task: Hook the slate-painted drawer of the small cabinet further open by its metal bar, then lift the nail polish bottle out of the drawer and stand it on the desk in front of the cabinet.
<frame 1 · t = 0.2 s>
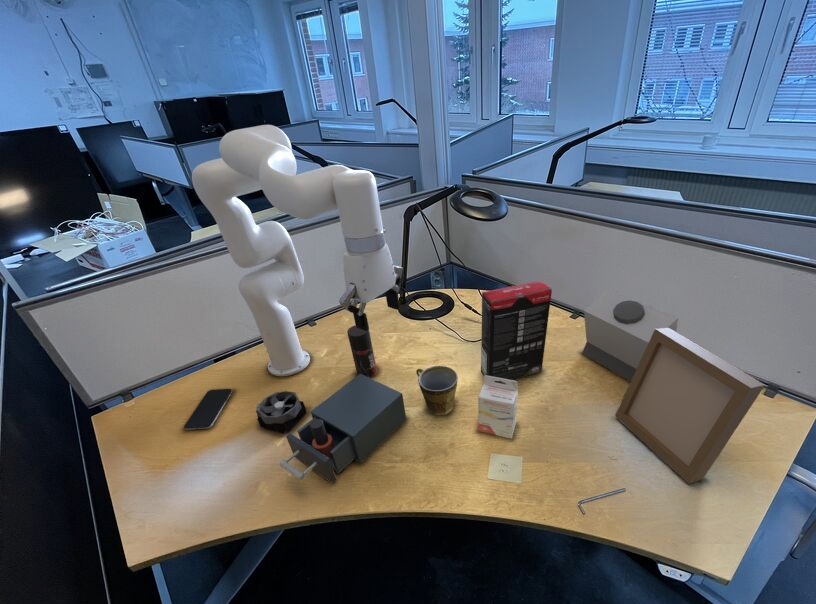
hand: (378, 317, 88), 31 cm above the table, tool pointing down, fingers open, 9 cm apart
deodorant: (367, 372, 123), on the table
graphics card box: (512, 373, 119), on the table
cpu cooler: (284, 419, 109), on the table
ceramic cup: (436, 404, 110), on the table
nail polish bottle: (326, 453, 95), point 2 cm above the table, touching drawer
alarm clock: (622, 363, 120), on the table
smartphone: (210, 409, 113), on the table
cabinet: (363, 428, 104), on the table
ink cartridge box: (497, 429, 102), on the table
drawer: (327, 443, 95), point 5 cm above the table, slide at 6.5 cm, touching nail polish bottle
photo frame: (672, 439, 96), on the table
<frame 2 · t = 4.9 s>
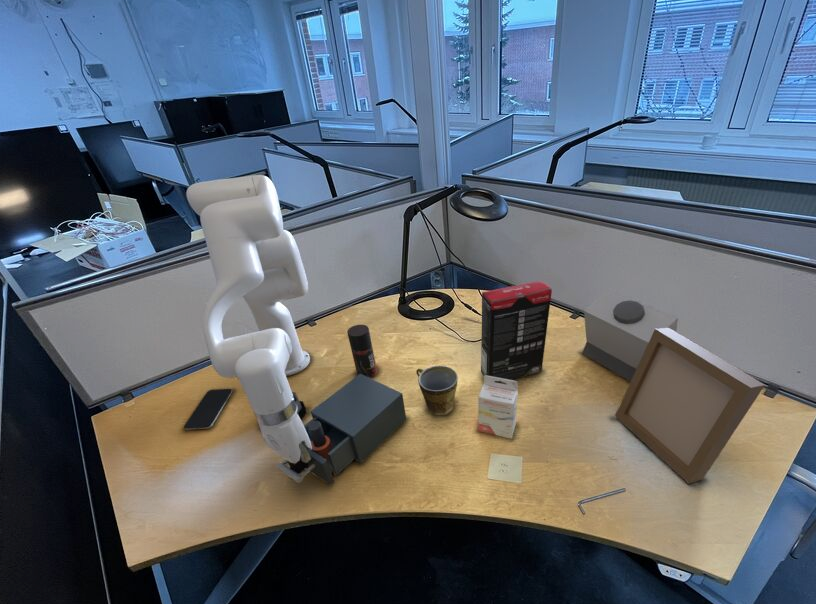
hand: (300, 469, 90), 4 cm above the table, tool pointing down, fingers closed
drawer: (325, 445, 94), point 5 cm above the table, slide at 7.2 cm, touching nail polish bottle
everything else where it was.
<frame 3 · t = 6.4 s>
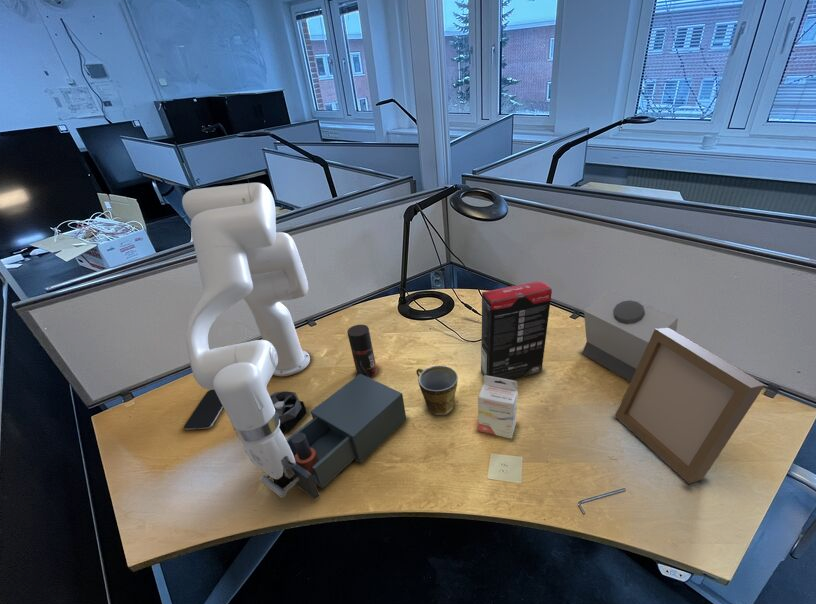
hand: (284, 483, 87), 4 cm above the table, tool pointing down, fingers closed
nail polish bottle: (310, 468, 92), point 2 cm above the table, touching drawer
drawer: (310, 458, 91), point 5 cm above the table, slide at 11.3 cm, touching nail polish bottle
everything else where it was.
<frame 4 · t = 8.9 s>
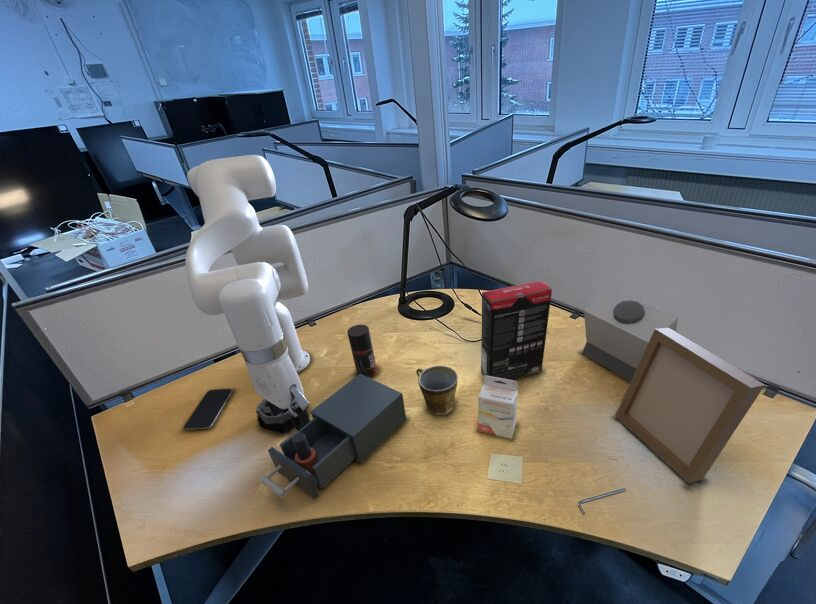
hand: (291, 418, 83), 18 cm above the table, tool pointing down, fingers open, 6 cm apart
nothing on the table moved.
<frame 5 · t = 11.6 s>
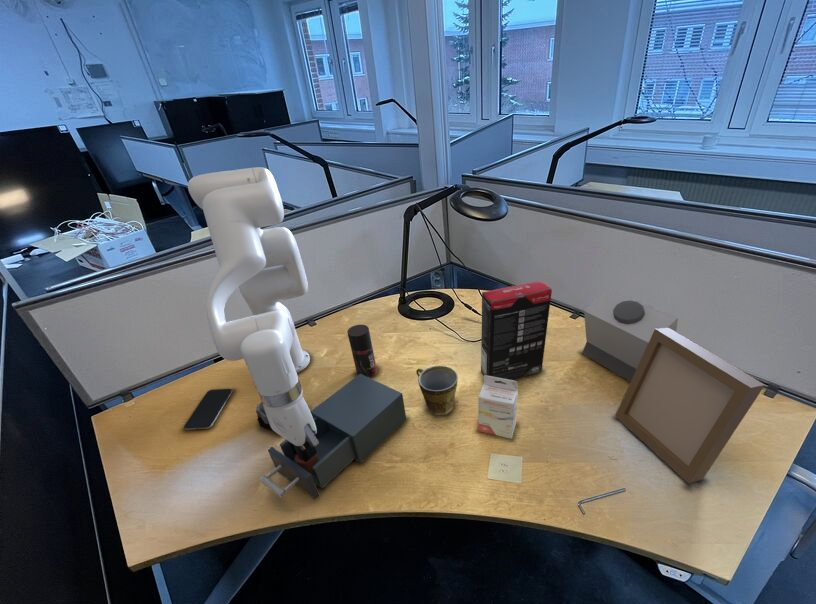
hand: (304, 453, 90), 7 cm above the table, tool pointing down, fingers closed on nail polish bottle, 2 cm apart
nail polish bottle: (310, 468, 92), point 2 cm above the table, touching drawer, gripper
everything else where it was.
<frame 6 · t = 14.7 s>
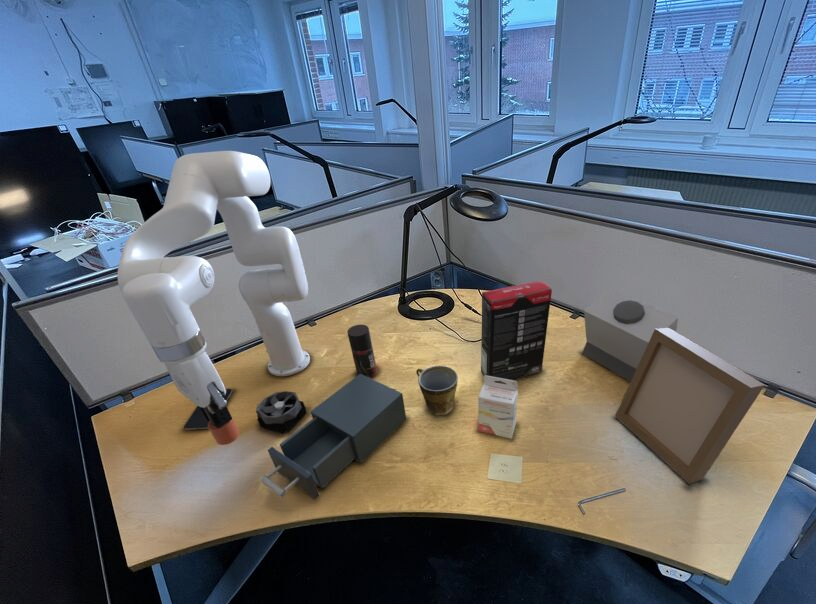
hand: (219, 419, 81), 20 cm above the table, tool pointing down, fingers closed on nail polish bottle, 2 cm apart
nail polish bottle: (227, 436, 84), point 15 cm above the table, touching gripper
drawer: (310, 458, 91), point 5 cm above the table, slide at 11.3 cm
everything else where it was.
when the fingers open (5 cm above the table, at t = 18.3 s): nail polish bottle stays where it is, on the table.
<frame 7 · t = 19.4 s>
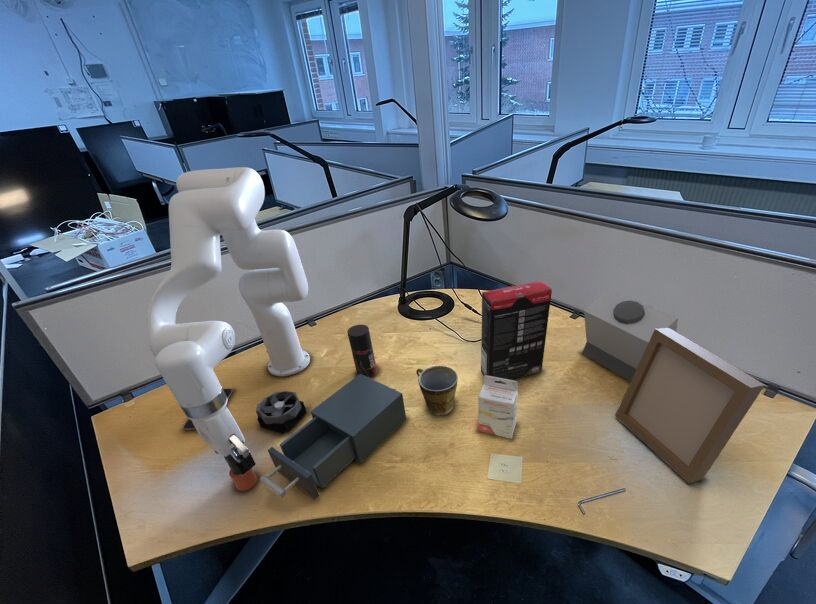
hand: (235, 459, 89), 8 cm above the table, tool pointing down, fingers open, 9 cm apart
nail polish bottle: (246, 482, 93), on the table
everything else where it was.
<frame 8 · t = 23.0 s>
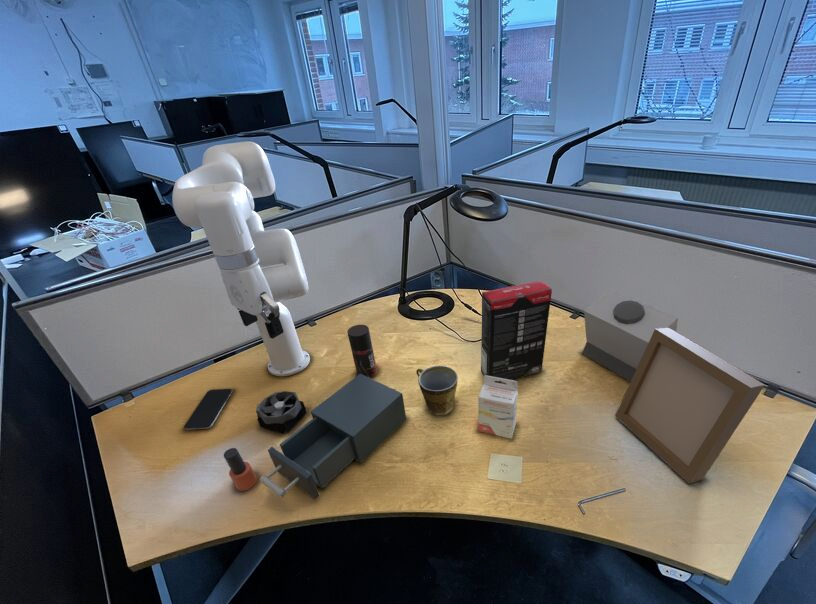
hand: (263, 329, 92), 28 cm above the table, tool pointing down, fingers open, 9 cm apart
nothing on the table moved.
at the end: drawer slide at 11.3 cm; nail polish bottle inside the target area (0.2 cm from its centre), on the table; nail polish bottle tilted 0° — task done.
